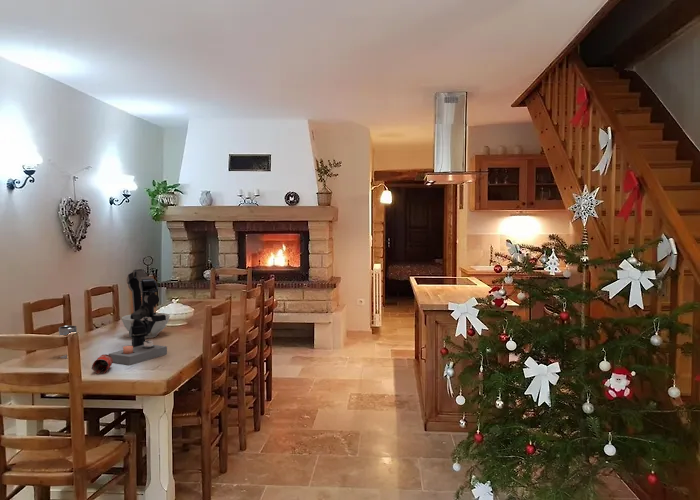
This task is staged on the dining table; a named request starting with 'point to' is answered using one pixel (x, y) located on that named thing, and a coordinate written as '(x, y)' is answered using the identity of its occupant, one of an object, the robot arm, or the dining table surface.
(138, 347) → the press block
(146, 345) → the grey rounded piece
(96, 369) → the beverage can
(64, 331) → the wine glass
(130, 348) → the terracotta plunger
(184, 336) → the dining table surface
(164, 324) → the decorative bowl
